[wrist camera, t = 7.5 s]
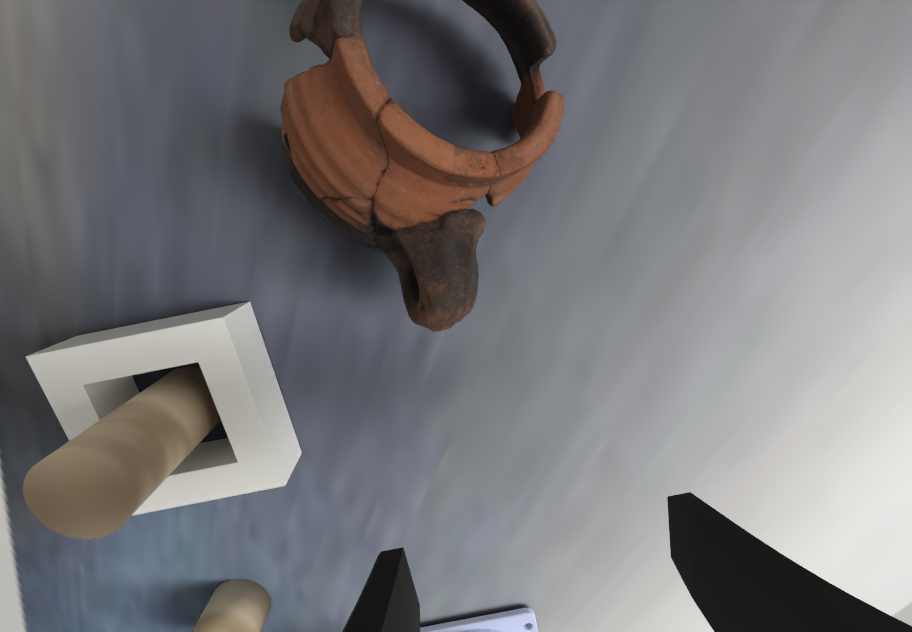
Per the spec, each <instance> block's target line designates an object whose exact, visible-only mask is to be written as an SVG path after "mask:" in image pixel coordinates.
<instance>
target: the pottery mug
mask: <svg viewBox="0 0 912 632" xmlns="http://www.w3.org/2000/svg"><path fill="white" fill-rule="evenodd" d="M363 1H364V0H303V1H302V2H301V3H300V4H299V6H298V8H297V10H296V12H295V14H294V17H293V19H292V21H291V25H290V37H291V39H292V40H293V41H295V42H300V41H302V40H304V39H305V38H306V37H307V39H308V40H310V41H311V42H313V43H314V44H316V45H317V46H318V47H320V48H321V50H322V51H323V53H324V54H325V55H326V56H327V57H328V58H329V61H328V62H327V63H325V64H323V65H318V66H314V67H311V68H310V69H309V71H307V72H302V73H300V74H298V75H296V76H295V77H294V78H291V79H290V80H288V81H287V82H286V83H285V85H284V87H285V92H284V95H283V99H282V104H281V114H282V119H283V122H282V131H281V135H282V141H283V149H284V155H285V159H286V162H287V165H288V168H289V171H290V174H291V177H292V179H293V181H294V183H295V184H296V185H297V187H298V188H299V190H300V191H301V192H302V193H303V194H304V196H305V198H306V199H307V201H308V202H309V203H310V205H311V206H312V207H313V209H314V210H315V211H316V212H317V213H318V214H319V215H320V216H321V217H322V218H323V219H324V220H325V221H326V222H328V223H329V224H330V225H331V226H333V227H334V228H336V229H337V230H339V231H340V232H342V233H343V234H345V235H347V236H350V237H352V238H355V239H356V240H358V241H360V242H362V243H364V244H365V245H367V246H368V247H370V248H372V249H375V248H378V249H380V250H382V251H383V252H384V253H385V254H386V256H387V257H388V258H389V259H390V260H391V262H392V263H393V265H394V266H395V268H396V270H397V272H398V274H399V279H400V284H401V288H402V294H403V299H404V303H405V306H406V309H407V312H408V315H409V317H410V318H411V320H412V321H413V322H414V323H415V324H417V325H421V326H424V327H426V328H428V329H430V330H432V331H435V332H436V331H441V330H445V329H448V328H451V327H452V326H453V325H454V324H455V323H456V322H459V321H461V320H462V319H463V318H464V317H465V316H466V315H467V314H468V313H469V312H470V311H471V310H472V308H473V306H474V303H475V301H476V296H477V288H478V265H477V259H476V246H477V242H478V239H479V238H480V236H481V235H482V233H483V230H484V226H485V219H484V217H483V215H482V213H481V212H479V211H477V210H475V209H466V208H467V207H469V206H470V205H473V204H474V203H476V202H477V199H479V198H480V197H482V196H484V195H485V194H486V198H487V201H488V203H489V204H490V205H491V206H493V207H494V206H496V205H498V204H499V203H501V202H502V201H503V200H504V199H505V198H506V197H507V196H509V195H510V194H511V193H512V192H513V191H514V190H515V188H516V187H517V186H518V185H519V184H520V183H521V182H522V181H523V180H524V179H525V178H526V176H527V175H528V173H529V172H530V170H531V169H532V167H533V165H534V163H535V162H536V161H537V160H538V159H540V157H541V156H542V155H543V154H544V153H545V152H546V151H547V149H548V148H549V146H550V145H551V143H552V142H553V140H554V138H555V136H556V134H557V132H558V131H559V128H560V123H561V119H562V115H563V109H564V98H563V96H562V95H560V94H558V93H557V92H555V91H547V92H545V87H544V84H543V80H542V76H541V73H540V69H539V66H540V64H541V63H542V62H543V61H544V60H545V59H547V58H548V57H549V56H551V55H552V54H553V52H554V50H555V47H556V39H555V35H554V33H553V31H552V29H551V27H550V25H549V22H548V20H547V18H546V16H545V14H544V12H543V11H542V9H541V8H540V7H539V6H538V4H537V2H536V0H463V1H464V2H465V3H466V4H467V5H469V6H470V7H472V8H473V9H474V10H476V11H477V12H478V13H479V14H480V15H481V16H483V17H484V18H485V19H486V20H487V21H488V22H489V23H490V24H491V25H492V26H493V27H494V28H495V29H496V31H497V32H498V33H499V34H500V36H501V38H502V40H503V41H504V43H505V45H506V46H507V49H508V51H509V53H510V55H511V58H512V60H513V63H514V65H515V67H516V70H517V73H518V76H519V79H520V81H521V88H520V91H519V94H518V96H517V99H516V102H515V105H514V107H513V110H512V118H513V121H514V124H515V127H516V130H517V132H518V134H519V136H520V139H519V140H518V141H517V142H516V143H514V144H512V145H510V146H508V147H505V148H502V149H499V150H495V151H492V152H491V153H489V152H484V151H473V150H469V149H466V148H463V147H459V146H456V145H453V144H451V143H449V142H447V141H445V140H443V139H440V138H439V137H437V136H435V135H434V134H432V133H430V132H429V131H427V130H426V129H425V128H423V127H422V126H421V125H419V124H418V123H416V122H415V121H414V120H413V119H412V118H411V117H410V116H409V115H408V114H407V113H405V112H404V111H403V110H402V108H401V107H400V106H399V105H398V104H397V103H396V102H395V101H393V100H392V98H391V97H390V95H389V92H388V91H387V90H386V88H385V87H384V85H383V84H382V82H381V81H380V79H379V77H378V75H377V73H376V71H375V69H374V67H373V65H372V62H371V60H370V57H369V54H368V51H367V48H366V45H365V42H364V40H363V39H362V37H361V11H362V4H363ZM375 216H376V217H377V218H378V220H379V221H380V222H381V223H382V224H383V225H384V226H386V227H388V228H379V227H377V226H376V222H375Z"/></svg>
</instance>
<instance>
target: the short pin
mask: <svg viewBox="0 0 912 632" xmlns="http://www.w3.org/2000/svg"><path fill="white" fill-rule="evenodd" d="M270 606H271V599H270V596H269V594H268V592H267V591H266V590H265V589H264V588H263V587H262V586H261V585H259V584H257V583H255V582H253V581H250V580H246V579H233V580H228V581H226V582H224V583H222V584H220V585H219V586H218V587H217V588H216V589H215V591H214V593H213V594H212V596H211V598H210V600H209V602H208V603H207V605H206V607H205V609H204V611H203V612H202V614H201V616H200V618H199V620H198V622H197V623H196V625H195V627H194V629H193V631H192V632H261V630H262V627H263V625H264V622H265V620H266V617H267V614H268V612H269V609H270Z"/></svg>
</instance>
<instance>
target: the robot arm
mask: <svg viewBox="0 0 912 632" xmlns="http://www.w3.org/2000/svg"><path fill="white" fill-rule="evenodd" d="M668 514H669V531H670V548H671V558H672V560H673V562H674V564H675V566H676V568H677V570H678V572H679V573H680V575H681V577H682V579H683V581H684V583H685V585H686V587H687V589H688V591H689V592H690V594H691V596H692V598H693V599H694V601H695V603H696V604H697V606H698V607H699V609H700V610H701V612H702V613H703V615H704V616H705V618H706V619H707V621H708V623H709V624H710V626H711V627H712V629H713V630H714V632H912V626H910V625H908V624H906V623H904V622H902V621H899V620H898V619H896V618H894V617H892V616H890V615H888V614H886V613H884V612H882V611H880V610H878V609H876V608H875V607H873V606H871V605H869V604H867V603H865V602H863V601H861V600H859V599H858V598H856V597H854V596H852V595H850V594H848V593H846V592H845V591H843V590H841V589H839V588H837V587H836V586H834V585H832V584H830V583H829V582H827V581H825V580H823V579H822V578H820V577H818V576H817V575H815V574H813V573H812V572H810V571H808V570H807V569H805V568H803V567H802V566H800V565H798V564H797V563H795V562H793V561H792V560H790V559H789V558H787V557H785V556H784V555H782V554H781V553H779V552H777V551H776V550H774V549H773V548H771V547H770V546H768V545H767V544H765V543H764V542H762V541H761V540H759V539H757V538H756V537H754V536H753V535H751V534H750V533H748V532H747V531H745V530H744V529H743V528H741V527H740V526H738V525H737V524H735V523H734V522H732V521H731V520H729V519H728V518H726V517H725V516H724V515H722V514H721V513H719V512H718V511H716V510H715V509H713V508H712V507H711V506H709V505H708V504H706V503H705V502H703V501H702V500H700V499H699V498H698V497H696V496H695V495H693V494H692V493H690V492H689V493H684V494H679V495H674V496H669V497H668ZM343 632H538V629H537V623H536V618H535V613H534V611H533V610H532V609H530V608H521V609H515V610H510V611H505V612H500V613H494V614H489V615H484V616H479V617H473V618H468V619H463V620H458V621H452V622H447V623H442V624H437V625H431V626H426V627H421V628H420V605H419V601H418V598H417V594H416V591H415V587H414V584H413V580H412V577H411V573H410V569H409V566H408V562H407V559H406V555H405V552H404V548H398V549H393V550H387V551H382V552H381V553H380V554H379V555H378V557H377V559H376V562H375V564H374V567H373V569H372V571H371V573H370V576H369V578H368V580H367V582H366V584H365V587H364V589H363V591H362V593H361V595H360V597H359V599H358V602H357V604H356V606H355V608H354V610H353V612H352V614H351V616H350V618H349V620H348V622H347V624H346V626H345V628H344V630H343Z"/></svg>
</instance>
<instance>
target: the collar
mask: <svg viewBox="0 0 912 632" xmlns="http://www.w3.org/2000/svg"><path fill="white" fill-rule="evenodd" d="M26 359H27V361H28V362H29V364H30V366H31V368H32V370H33V372H34V374H35V376H36V378H37V380H38V382H39V384H40V385H41V387H42V389H43V391H44V393H45V395H46V397H47V399H48V401H49V403H50V405H51V407H52V409H53V410H54V412H55V414H56V416H57V418H58V420H59V422H60V424H61V426H62V428H63V430H64V432H65V433H66V435H67V437H68V439H69V441H70V440H72V439H73V438H75V437H76V436H77V435H79V434H80V433H82V432H83V431H85V430H86V429H88V428H89V427H91V426H92V425H94V424H95V423H96V422H98V421H99V420H101V419H102V418H104V417H105V416H107V415H108V414H110V413H111V412H113V411H114V410H115V409H117V408H118V407H120V406H121V405H123V404H124V403H126V402H127V401H129V400H130V399H132V398H133V397H134V396H136V395H137V394H139V393H140V392H139V390H138V388H137V386H136V384H135V381H134V379H133V377H132V375H136V374H141V373H146V372H151V371H156V370H161V369H166V368H171V367H176V366H181V365H187V364H192V363H197V362H198V363H199V365H200V368H201V370H202V373H203V375H204V378H205V380H206V383H207V385H208V388H209V390H210V393H211V395H212V398H213V401H214V403H215V406H216V408H217V411H218V413H219V416H220V418H221V421H222V423H223V426H224V428H225V431H226V433H227V436H228V438H224V439H219V440H214V441H209V442H204V443H199V444H198V445H197V446H196V447H195V448H194V449H193V450H192V451H191V453H190V454H189V455H188V456H187V457H186V458H185V459H184V460H183V461H182V462H181V463H180V464H179V465H178V466H177V467H176V469H175V470H174V471H173V472H172V473H171V474H170V475H169V476H168V477H167V478H166V479H165V480H164V481H163V482H162V484H161V485H160V486H159V487H158V488H157V489H156V490H155V491H154V492H153V493H152V494H151V495H150V496H149V497H148V498H147V500H146V501H145V502H144V503H143V504H142V505H141V506H140V507H139V508H138V509H137V510H136V511H135V512H134V513H133V514H132V515H137V514H143V513H148V512H153V511H158V510H163V509H168V508H173V507H179V506H184V505H189V504H194V503H199V502H204V501H210V500H215V499H220V498H225V497H230V496H235V495H240V494H246V493H251V492H256V491H261V490H266V489H271V488H276V487H282V486H285V485H286V483H287V481H288V479H289V477H290V475H291V473H292V471H293V469H294V467H295V465H296V463H297V461H298V459H299V457H300V456H301V454H302V452H301V449H300V446H299V443H298V440H297V437H296V434H295V431H294V428H293V426H292V423H291V420H290V417H289V414H288V411H287V408H286V405H285V402H284V399H283V396H282V394H281V391H280V388H279V385H278V382H277V379H276V376H275V373H274V370H273V367H272V364H271V361H270V359H269V356H268V353H267V350H266V347H265V344H264V341H263V338H262V335H261V332H260V329H259V327H258V324H257V321H256V318H255V315H254V312H253V309H252V306H251V303H250V301H249V302H244V303H239V304H234V305H229V306H224V307H219V308H214V309H209V310H204V311H199V312H194V313H189V314H184V315H179V316H174V317H169V318H164V319H159V320H154V321H149V322H144V323H139V324H134V325H129V326H124V327H119V328H114V329H109V330H104V331H98V332H93V333H88V334H83V335H78V336H75V337H72V338H70V339H68V340H65V341H63V342H60V343H58V344H55V345H53V346H50V347H48V348H45V349H43V350H40V351H38V352H35V353H33V354H31V355H28V356H26Z"/></svg>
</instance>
